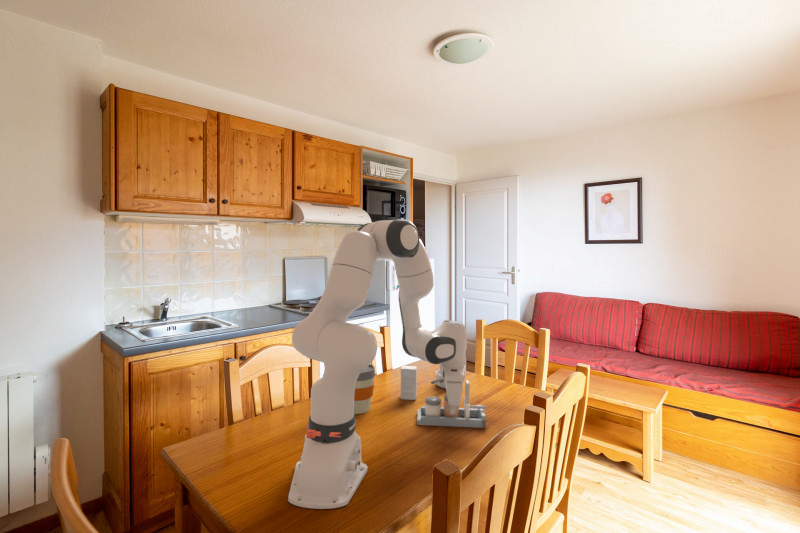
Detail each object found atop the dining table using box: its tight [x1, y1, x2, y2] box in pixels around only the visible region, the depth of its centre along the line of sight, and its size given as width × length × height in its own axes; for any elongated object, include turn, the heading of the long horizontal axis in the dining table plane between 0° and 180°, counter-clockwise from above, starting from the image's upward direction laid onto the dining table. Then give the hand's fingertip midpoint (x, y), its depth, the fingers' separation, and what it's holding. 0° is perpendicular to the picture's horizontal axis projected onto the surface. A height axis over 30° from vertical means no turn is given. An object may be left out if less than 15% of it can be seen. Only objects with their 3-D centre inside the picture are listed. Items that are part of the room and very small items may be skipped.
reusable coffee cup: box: [354, 363, 376, 415], centre depth 137 cm, size 13×12×15 cm
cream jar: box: [424, 395, 442, 417], centre depth 130 cm, size 5×5×7 cm
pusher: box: [463, 379, 488, 418], centre depth 129 cm, size 6×7×13 cm
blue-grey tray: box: [416, 404, 487, 429], centre depth 129 cm, size 9×22×4 cm, turn 86°
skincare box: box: [400, 365, 418, 401], centre depth 148 cm, size 6×4×12 cm
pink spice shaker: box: [443, 393, 460, 418], centre depth 129 cm, size 5×5×8 cm
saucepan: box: [430, 369, 446, 390], centre depth 159 cm, size 12×20×6 cm, turn 146°
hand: (451, 408), depth 129 cm, fingers open, 6 cm apart
